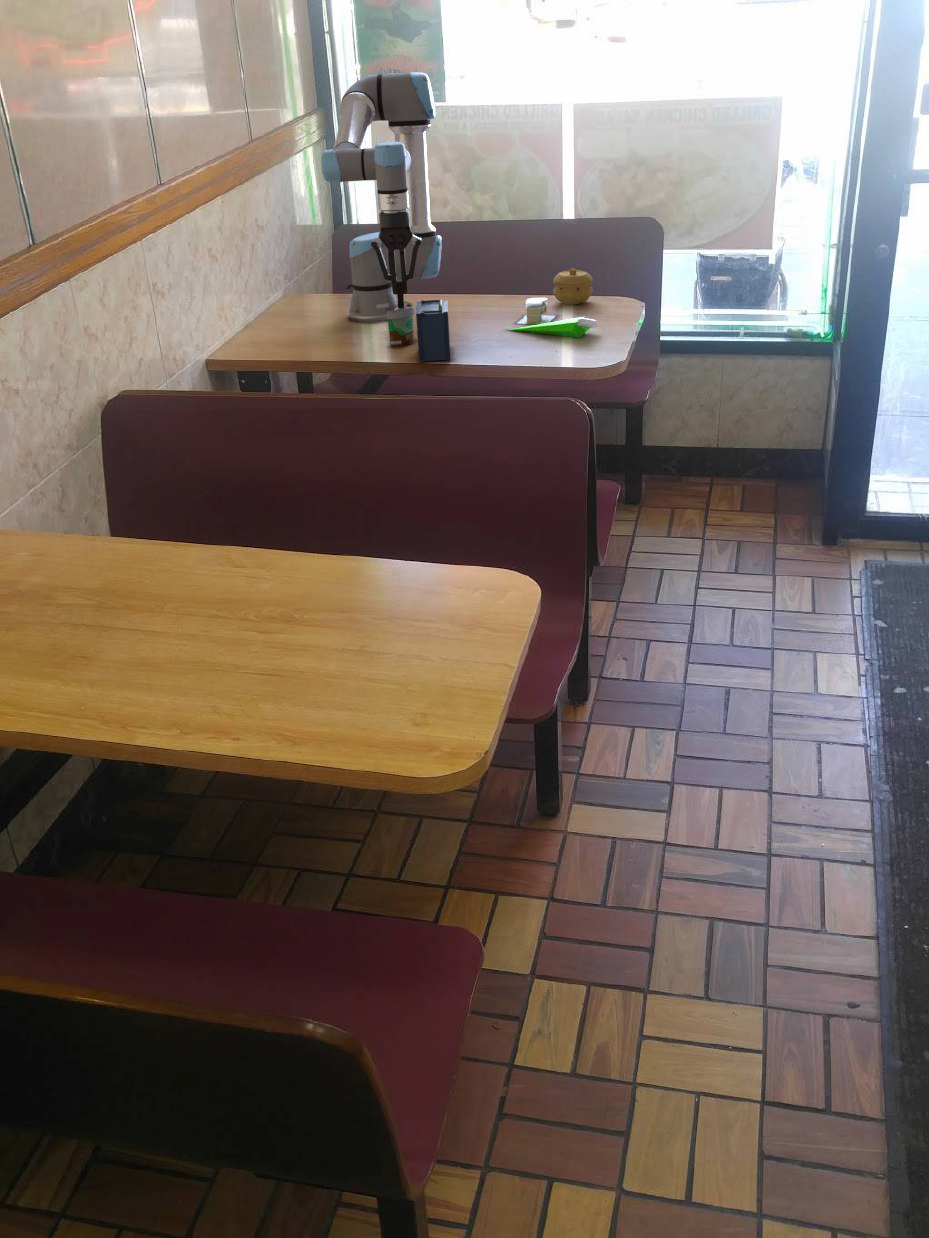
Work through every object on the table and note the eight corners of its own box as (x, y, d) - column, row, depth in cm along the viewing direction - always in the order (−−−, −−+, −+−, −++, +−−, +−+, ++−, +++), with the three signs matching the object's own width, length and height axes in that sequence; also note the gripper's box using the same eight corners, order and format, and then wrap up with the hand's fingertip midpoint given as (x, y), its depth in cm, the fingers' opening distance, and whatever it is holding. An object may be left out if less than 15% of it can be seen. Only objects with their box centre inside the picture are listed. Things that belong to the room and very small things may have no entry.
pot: (545, 304, 339) (544, 270, 334) (571, 296, 345) (571, 262, 340) (574, 309, 331) (574, 275, 326) (600, 301, 338) (601, 267, 333)
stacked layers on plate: (546, 324, 317) (546, 305, 315) (516, 323, 320) (515, 304, 317) (556, 316, 325) (556, 296, 323) (526, 314, 328) (526, 295, 326)
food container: (411, 349, 302) (408, 311, 297) (389, 348, 303) (386, 311, 299) (422, 336, 313) (419, 300, 308) (400, 336, 314) (398, 300, 309)
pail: (420, 349, 302) (416, 299, 295) (450, 347, 302) (447, 297, 295) (419, 363, 290) (415, 311, 284) (450, 361, 290) (447, 310, 284)
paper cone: (498, 342, 310) (580, 335, 298) (497, 322, 309) (580, 314, 297) (517, 344, 320) (598, 338, 307) (516, 324, 319) (598, 317, 306)
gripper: (366, 214, 275) (375, 311, 286) (420, 211, 275) (426, 309, 286) (368, 209, 282) (376, 304, 293) (420, 206, 281) (426, 302, 293)
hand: (401, 306), depth 289 cm, fingers closed
